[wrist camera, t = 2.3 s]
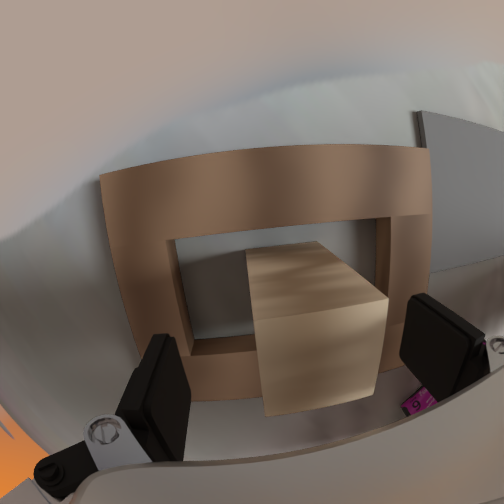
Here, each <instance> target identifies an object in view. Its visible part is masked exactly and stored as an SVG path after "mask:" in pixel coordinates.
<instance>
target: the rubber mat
mask: <svg viewBox="0 0 504 504" xmlns="http://www.w3.org/2000/svg"><path fill="white" fill-rule="evenodd" d="M417 116H418V122H419V128H420V136H421V144H422V148H428V149H429V153H430V164H431V179H432V246H431V261H430V272H429V273H434V272H438V271H443V270H447V269H452V268H456V267H460V266H464V265H469V264H473V263H477V262H481V261H485V260H489V259H492V258H496V257H500V256H504V132H502V131H499V130H496V129H493V128H490V127H487V126H483V125H480V124H477V123H473V122H470V121H466V120H462V119H458V118H454V117H450V116H446V115H441V114H437V113H432V112H427V111H422V110H421V111H418V112H417Z"/></svg>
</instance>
